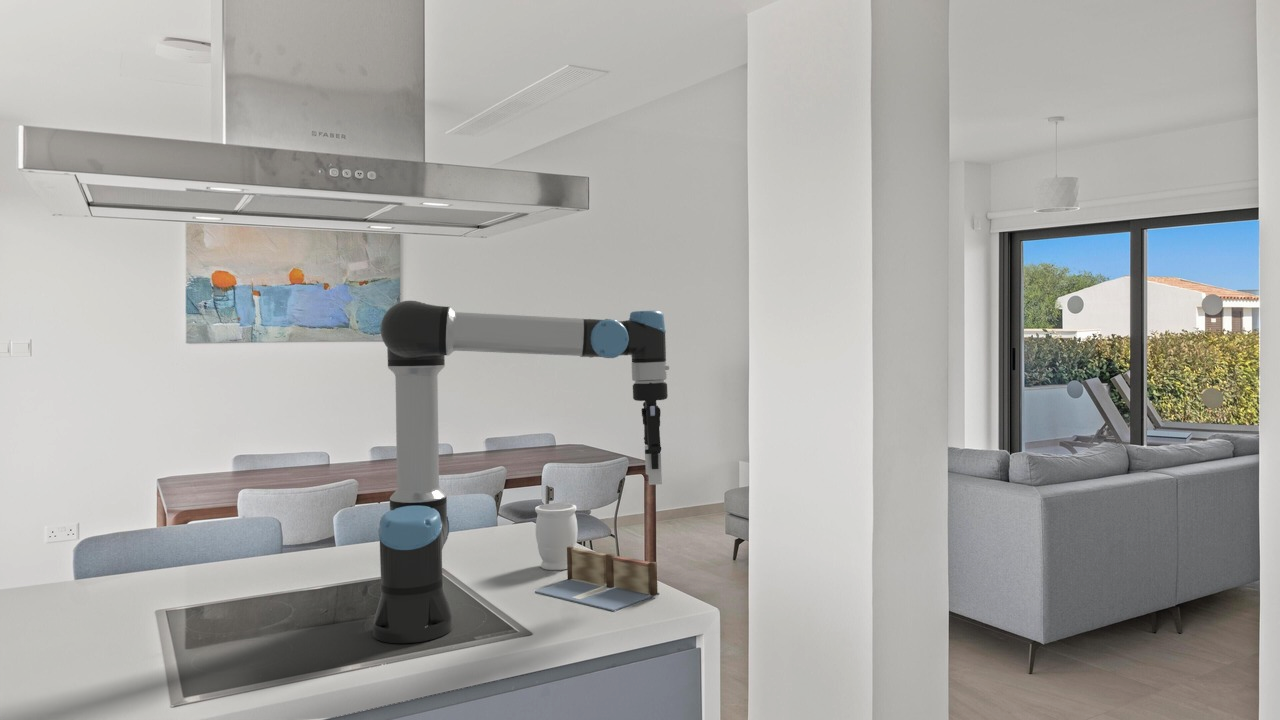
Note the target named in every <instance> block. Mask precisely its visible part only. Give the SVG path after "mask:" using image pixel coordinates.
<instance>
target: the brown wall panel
mask: <svg viewBox="0 0 1280 720" xmlns="http://www.w3.org/2000/svg"><path fill="white" fill-rule="evenodd" d="M613 557H615V553H604V552H599V551H593V550H589V549H588V550H587V549H583V548H577V547H576V548H574V547H567V569H566V570H567V571H566V572H567V573H566V574H567V581H568V580H570V579H573V578H576V579H580V580H585V581H589V582H594V583H599V584H603V585H605V584H606V587H608V588H613V587H614V567H613Z"/></svg>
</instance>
